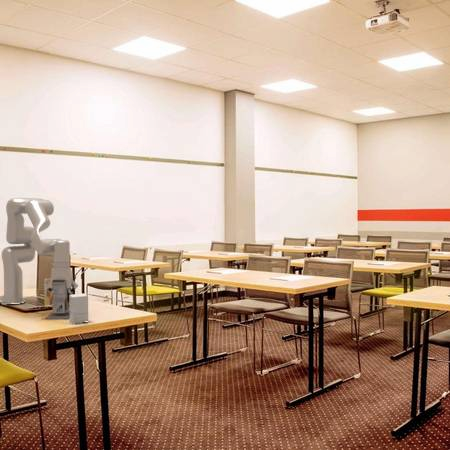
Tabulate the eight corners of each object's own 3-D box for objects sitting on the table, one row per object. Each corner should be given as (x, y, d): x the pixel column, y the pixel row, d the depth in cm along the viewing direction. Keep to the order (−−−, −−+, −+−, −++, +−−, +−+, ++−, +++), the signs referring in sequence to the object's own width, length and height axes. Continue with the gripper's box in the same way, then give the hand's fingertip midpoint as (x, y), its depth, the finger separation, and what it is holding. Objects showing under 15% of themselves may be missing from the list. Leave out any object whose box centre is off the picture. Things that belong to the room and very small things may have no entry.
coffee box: (59, 309, 258) (58, 277, 257) (71, 309, 257) (71, 277, 257) (52, 313, 249) (51, 280, 248) (64, 313, 248) (64, 280, 248)
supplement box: (85, 319, 244) (85, 293, 244) (88, 322, 238) (88, 295, 237) (69, 321, 241) (69, 294, 240) (72, 324, 234) (72, 296, 234)
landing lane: (41, 319, 244) (41, 318, 244) (53, 311, 262) (53, 310, 262) (68, 319, 244) (68, 318, 244) (78, 311, 262) (78, 310, 262)
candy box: (60, 305, 278) (60, 277, 278) (63, 306, 275) (63, 278, 275) (44, 307, 273) (43, 278, 272) (46, 308, 270) (46, 279, 269)
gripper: (41, 266, 248) (41, 302, 249) (77, 266, 249) (77, 302, 249) (46, 264, 256) (46, 299, 257) (81, 264, 256) (81, 299, 257)
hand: (62, 300), depth 253 cm, fingers closed on coffee box, 6 cm apart
